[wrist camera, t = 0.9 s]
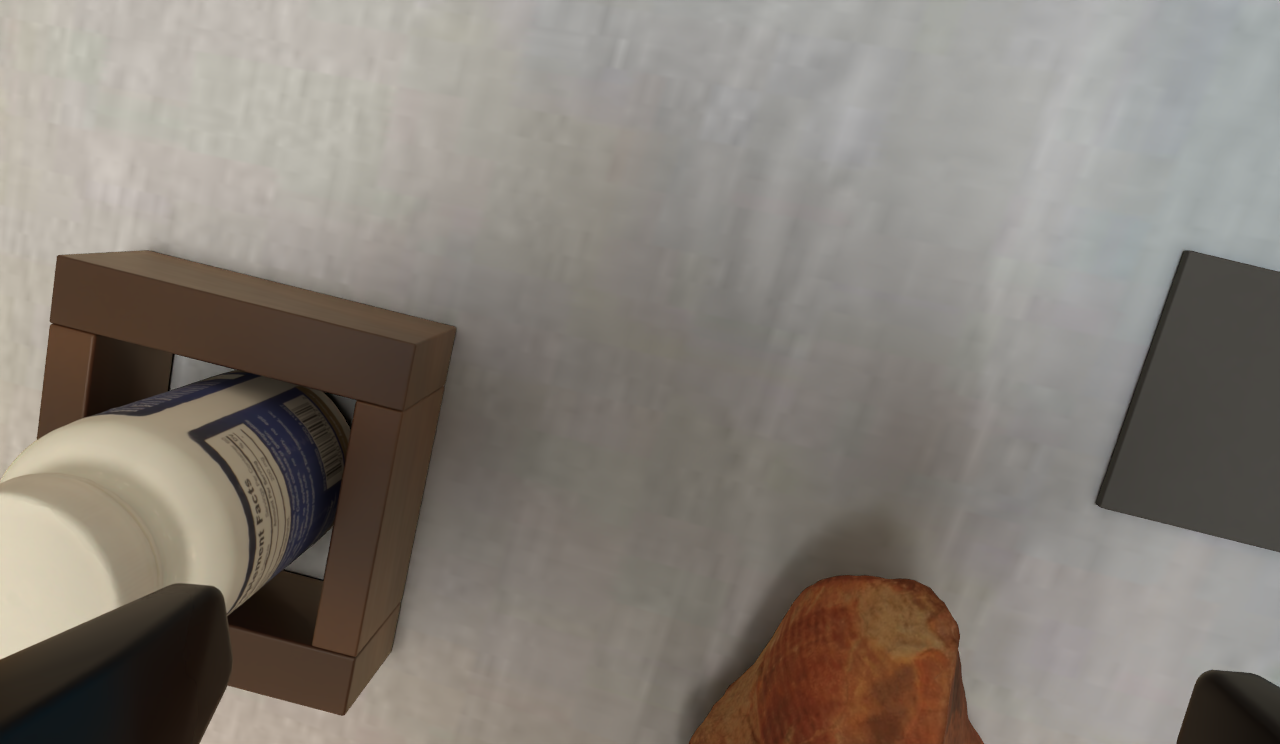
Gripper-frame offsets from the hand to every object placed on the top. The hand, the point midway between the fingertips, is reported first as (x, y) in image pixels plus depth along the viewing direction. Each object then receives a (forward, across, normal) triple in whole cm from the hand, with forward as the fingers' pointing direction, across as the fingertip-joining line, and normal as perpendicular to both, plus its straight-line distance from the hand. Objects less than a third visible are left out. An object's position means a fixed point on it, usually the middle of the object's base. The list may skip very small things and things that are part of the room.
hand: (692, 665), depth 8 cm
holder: (+15, +12, +6) cm, 21 cm away
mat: (+16, -15, +3) cm, 22 cm away
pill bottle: (+16, +12, +6) cm, 21 cm away
